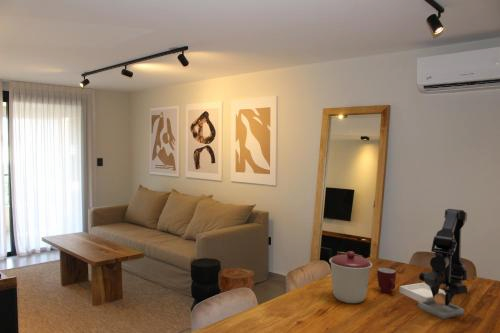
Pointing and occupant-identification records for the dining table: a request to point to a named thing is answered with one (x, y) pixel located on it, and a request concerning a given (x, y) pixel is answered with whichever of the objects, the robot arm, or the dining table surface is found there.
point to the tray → (441, 309)
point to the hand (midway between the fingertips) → (441, 302)
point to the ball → (440, 299)
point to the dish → (418, 291)
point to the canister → (350, 277)
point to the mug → (386, 279)
